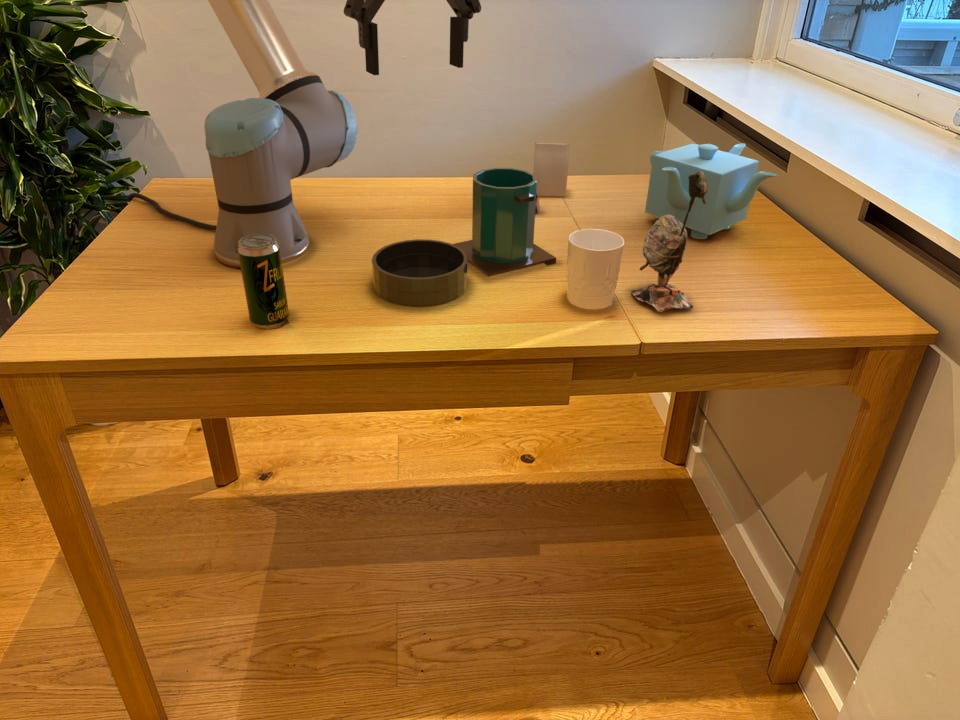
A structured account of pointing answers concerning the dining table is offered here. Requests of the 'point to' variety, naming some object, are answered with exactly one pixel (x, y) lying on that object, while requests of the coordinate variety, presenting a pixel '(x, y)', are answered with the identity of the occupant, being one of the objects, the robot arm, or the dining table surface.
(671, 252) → the brown figurine
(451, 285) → the pan
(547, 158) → the white upright block
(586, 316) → the dining table surface
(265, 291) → the green soda can
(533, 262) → the trivet
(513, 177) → the pot
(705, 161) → the teakettle
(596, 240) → the white cup
